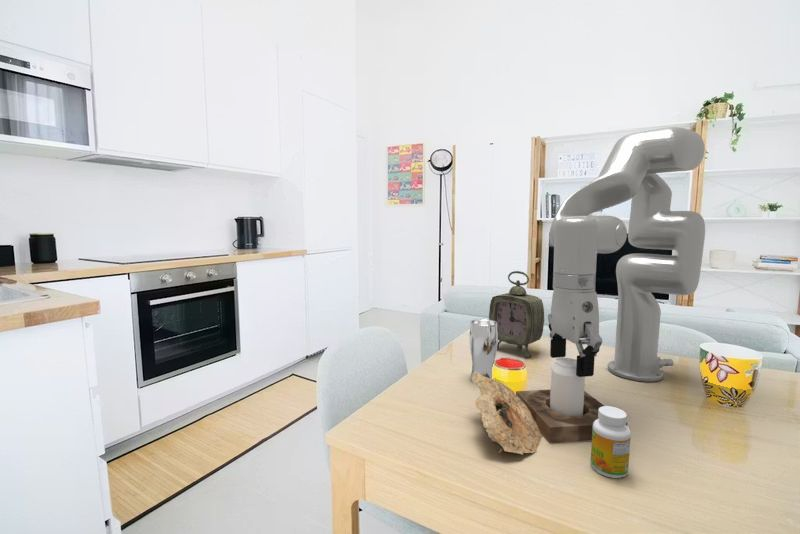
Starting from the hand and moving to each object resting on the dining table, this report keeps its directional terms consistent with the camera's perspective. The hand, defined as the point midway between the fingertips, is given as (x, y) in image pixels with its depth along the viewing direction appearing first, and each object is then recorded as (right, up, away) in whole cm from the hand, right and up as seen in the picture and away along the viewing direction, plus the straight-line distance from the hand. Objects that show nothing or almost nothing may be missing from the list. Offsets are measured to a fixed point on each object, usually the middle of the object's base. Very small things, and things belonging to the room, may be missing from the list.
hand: (570, 365), depth 77 cm
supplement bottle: (0, -13, -14) cm, 20 cm away
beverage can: (0, -11, +1) cm, 11 cm away
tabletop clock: (+2, -7, +42) cm, 43 cm away
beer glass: (-13, -9, +20) cm, 26 cm away
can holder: (0, -11, +1) cm, 11 cm away
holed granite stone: (-14, -12, -4) cm, 19 cm away
